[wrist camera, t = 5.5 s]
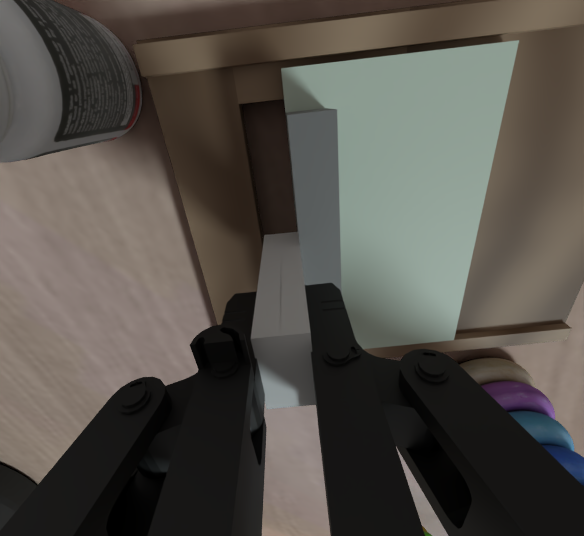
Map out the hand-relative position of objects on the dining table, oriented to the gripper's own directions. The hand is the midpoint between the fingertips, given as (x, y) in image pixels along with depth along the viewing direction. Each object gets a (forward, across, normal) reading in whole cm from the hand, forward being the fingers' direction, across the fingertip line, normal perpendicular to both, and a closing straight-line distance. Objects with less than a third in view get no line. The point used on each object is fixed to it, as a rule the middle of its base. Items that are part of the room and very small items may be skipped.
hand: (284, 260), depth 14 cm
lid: (+2, +5, 0) cm, 6 cm away
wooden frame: (+4, +6, 0) cm, 7 cm away
